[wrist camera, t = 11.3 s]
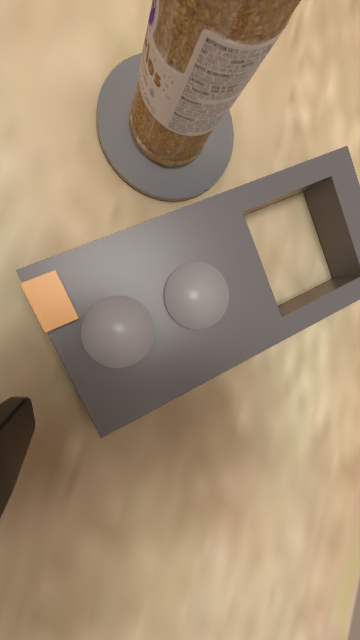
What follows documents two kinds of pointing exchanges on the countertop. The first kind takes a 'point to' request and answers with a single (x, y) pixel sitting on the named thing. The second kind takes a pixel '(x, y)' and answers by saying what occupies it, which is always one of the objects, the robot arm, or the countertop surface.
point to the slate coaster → (132, 159)
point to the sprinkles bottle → (198, 69)
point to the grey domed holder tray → (189, 292)
